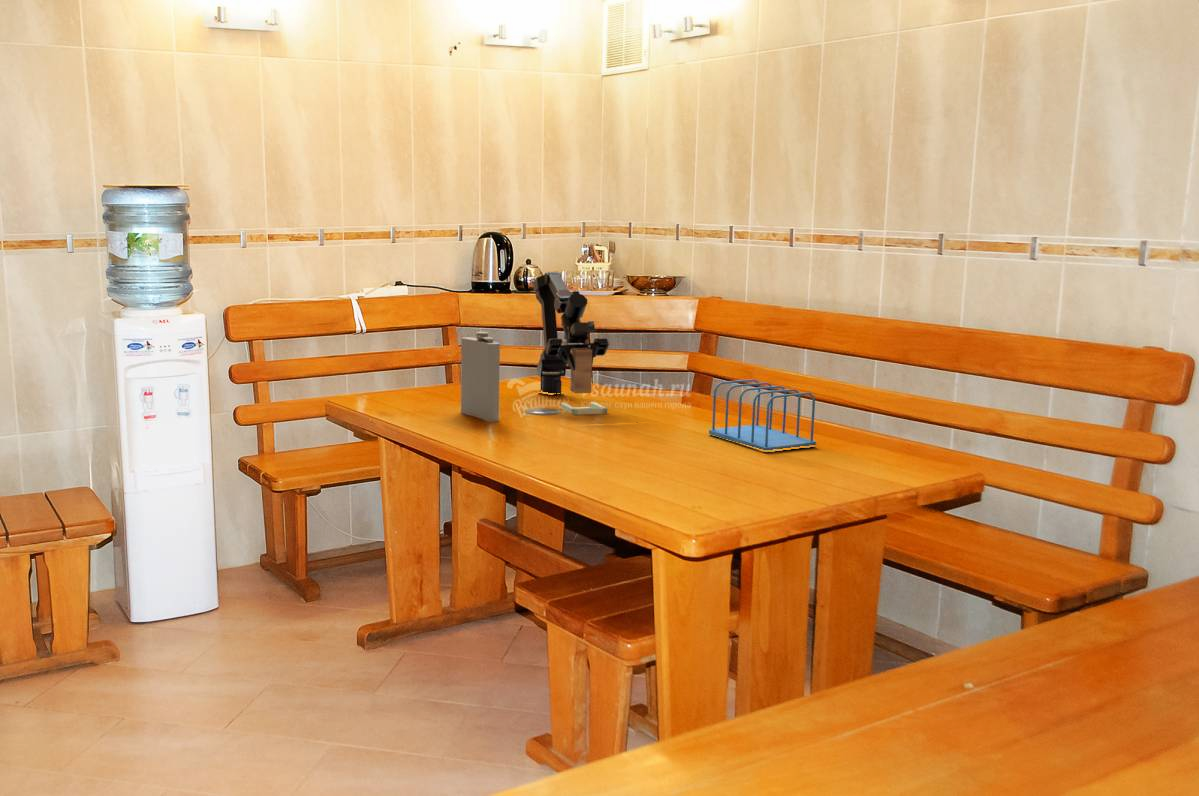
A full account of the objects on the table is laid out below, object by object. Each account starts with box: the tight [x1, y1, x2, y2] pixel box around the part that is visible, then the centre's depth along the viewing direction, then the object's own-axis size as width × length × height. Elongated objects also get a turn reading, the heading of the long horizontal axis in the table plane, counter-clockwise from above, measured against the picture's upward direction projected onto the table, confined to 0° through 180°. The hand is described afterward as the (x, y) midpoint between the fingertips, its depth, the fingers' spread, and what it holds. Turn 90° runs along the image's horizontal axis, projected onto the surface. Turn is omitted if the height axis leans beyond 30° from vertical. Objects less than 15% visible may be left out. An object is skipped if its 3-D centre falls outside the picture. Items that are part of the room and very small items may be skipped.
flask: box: [460, 331, 501, 423], centre depth 324 cm, size 17×5×25 cm, turn 37°
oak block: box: [569, 348, 593, 394], centre depth 335 cm, size 5×5×13 cm
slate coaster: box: [523, 407, 562, 416], centre depth 333 cm, size 11×11×1 cm
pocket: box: [560, 401, 608, 416], centre depth 337 cm, size 11×11×2 cm
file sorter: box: [708, 379, 817, 450], centre depth 300 cm, size 25×17×15 cm
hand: (582, 369), depth 333 cm, fingers closed on oak block, 5 cm apart
